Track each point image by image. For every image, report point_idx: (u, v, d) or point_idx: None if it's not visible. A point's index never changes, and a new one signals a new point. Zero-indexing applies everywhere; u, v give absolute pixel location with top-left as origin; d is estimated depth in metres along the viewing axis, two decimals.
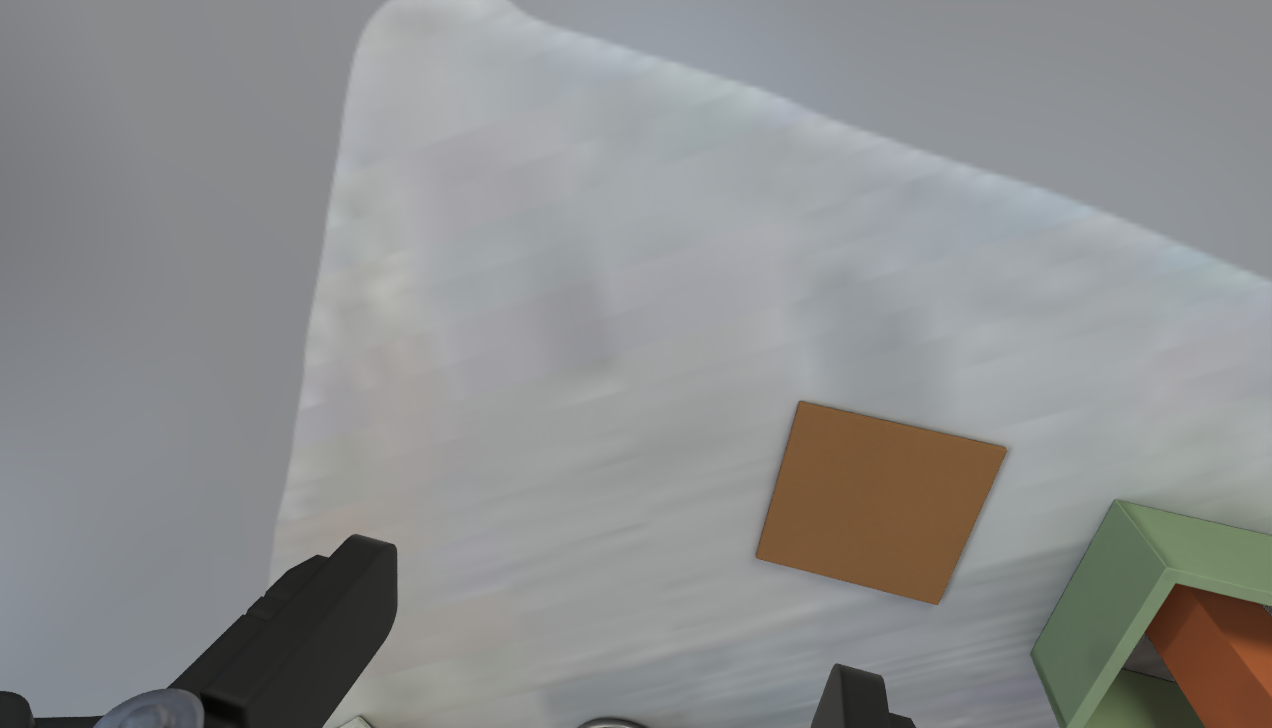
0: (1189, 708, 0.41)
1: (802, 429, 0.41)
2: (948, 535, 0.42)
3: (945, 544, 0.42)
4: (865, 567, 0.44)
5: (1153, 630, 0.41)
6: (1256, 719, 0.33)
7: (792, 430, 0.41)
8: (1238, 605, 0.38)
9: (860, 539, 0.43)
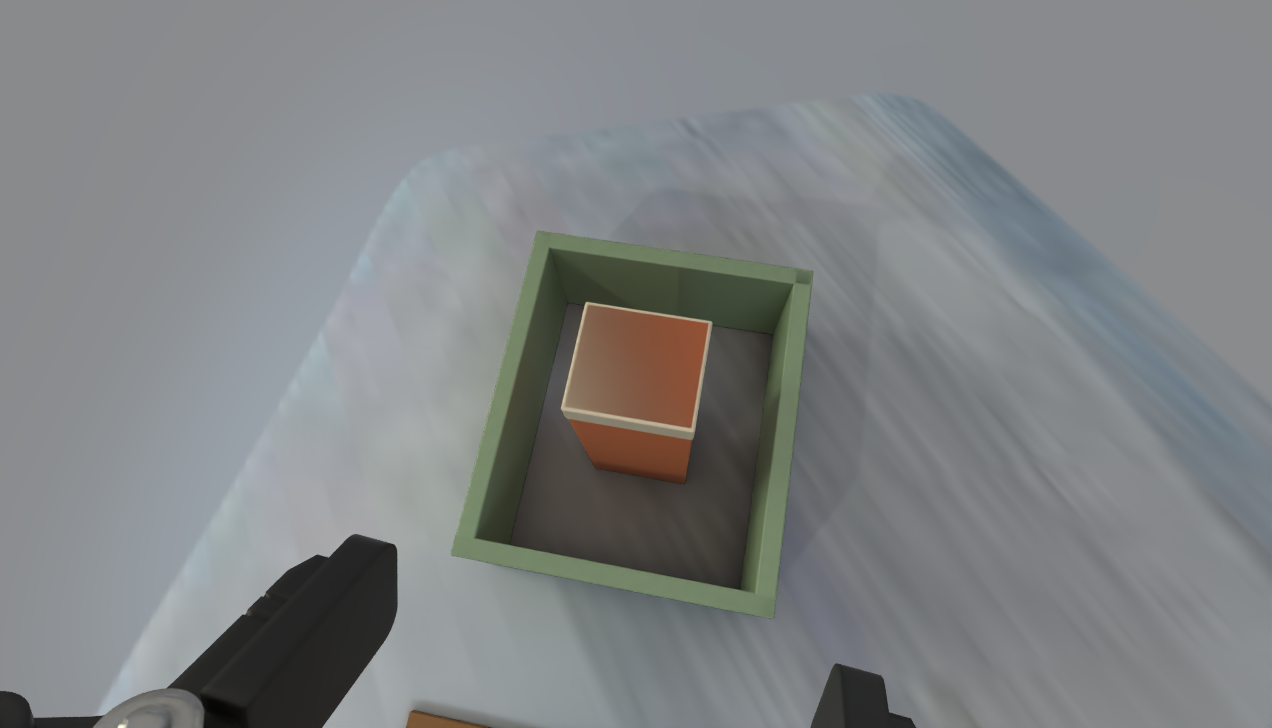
0: (765, 424, 0.31)
1: None
2: None
3: None
4: None
5: (671, 480, 0.32)
6: (610, 431, 0.25)
7: None
8: None
9: None
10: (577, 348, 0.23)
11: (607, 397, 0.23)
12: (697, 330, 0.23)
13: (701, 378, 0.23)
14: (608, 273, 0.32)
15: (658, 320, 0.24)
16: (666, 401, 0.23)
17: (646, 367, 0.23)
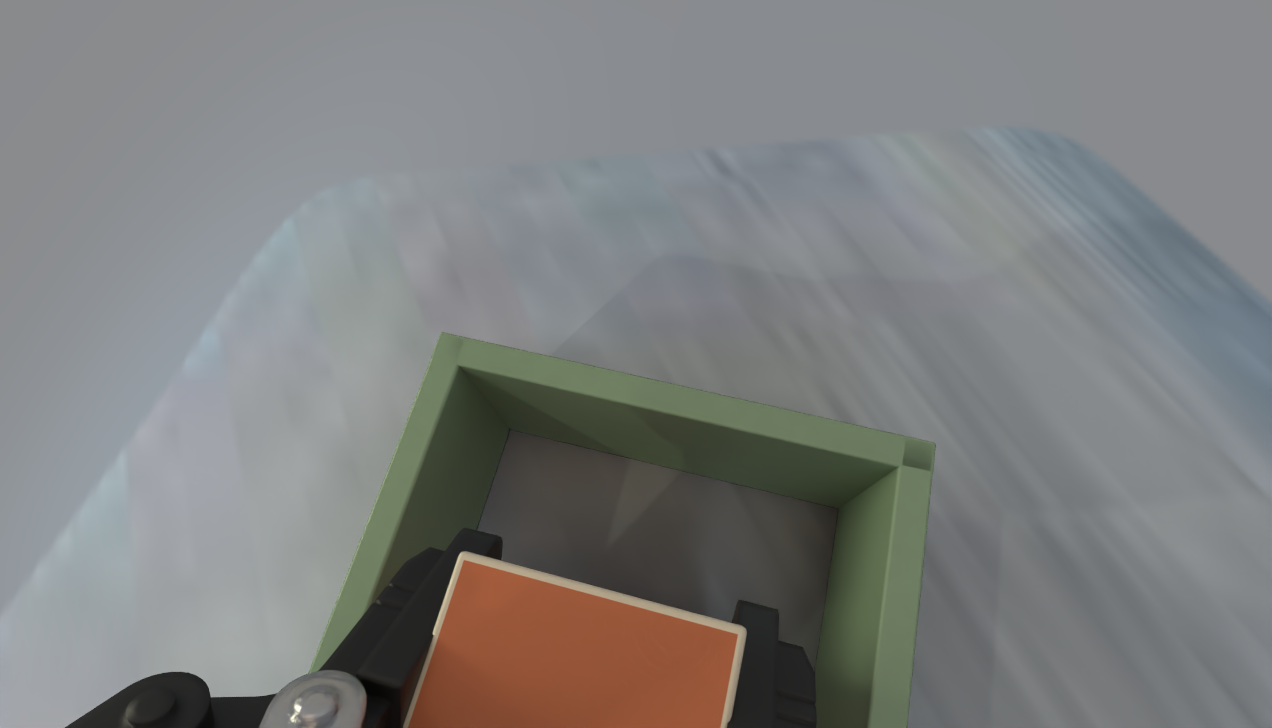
0: (826, 697, 0.18)
1: None
2: None
3: None
4: None
5: None
6: None
7: None
8: None
9: None
10: (423, 675, 0.10)
11: None
12: (710, 651, 0.10)
13: None
14: (565, 408, 0.18)
15: (620, 615, 0.10)
16: None
17: None
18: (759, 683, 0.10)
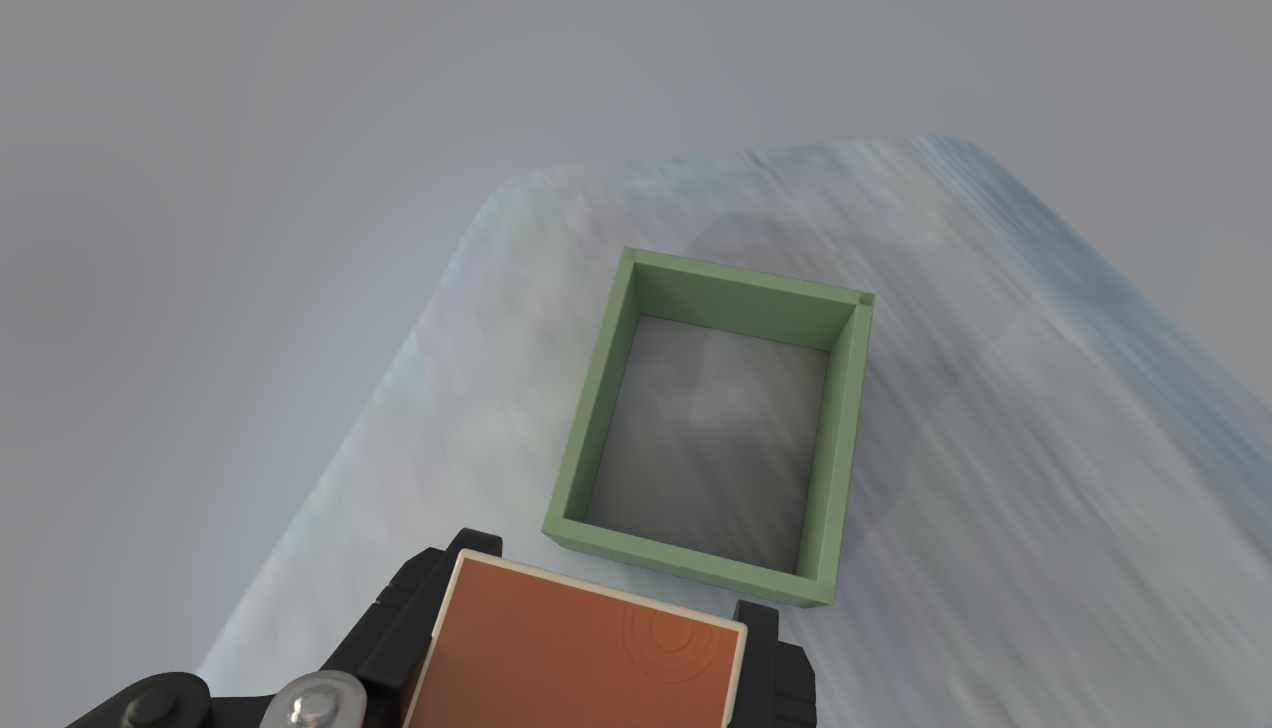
0: (823, 432, 0.34)
1: None
2: None
3: None
4: None
5: None
6: None
7: None
8: None
9: None
10: (424, 673, 0.10)
11: None
12: (711, 648, 0.10)
13: None
14: (684, 287, 0.35)
15: (620, 613, 0.10)
16: None
17: None
18: (759, 683, 0.10)
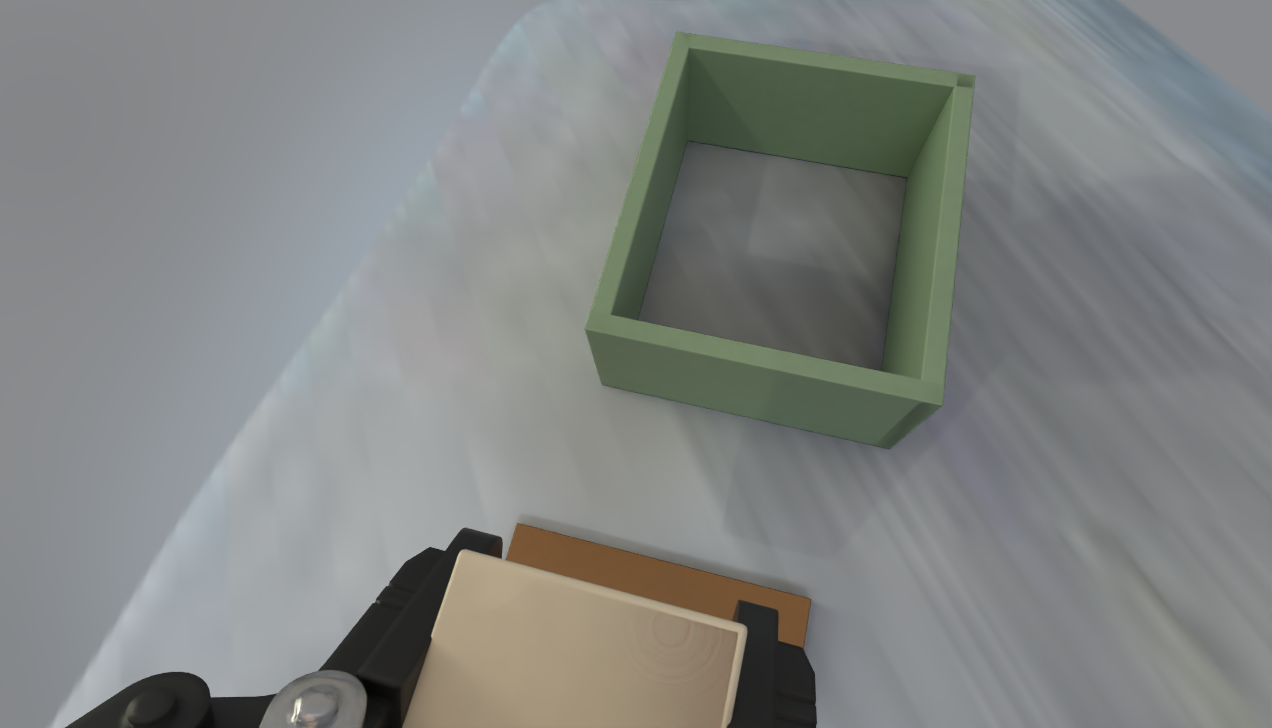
0: (908, 249, 0.29)
1: None
2: (666, 592, 0.26)
3: (684, 595, 0.26)
4: None
5: None
6: None
7: None
8: None
9: None
10: (423, 674, 0.10)
11: None
12: (711, 649, 0.10)
13: None
14: (745, 86, 0.30)
15: (620, 614, 0.10)
16: None
17: None
18: (759, 683, 0.10)
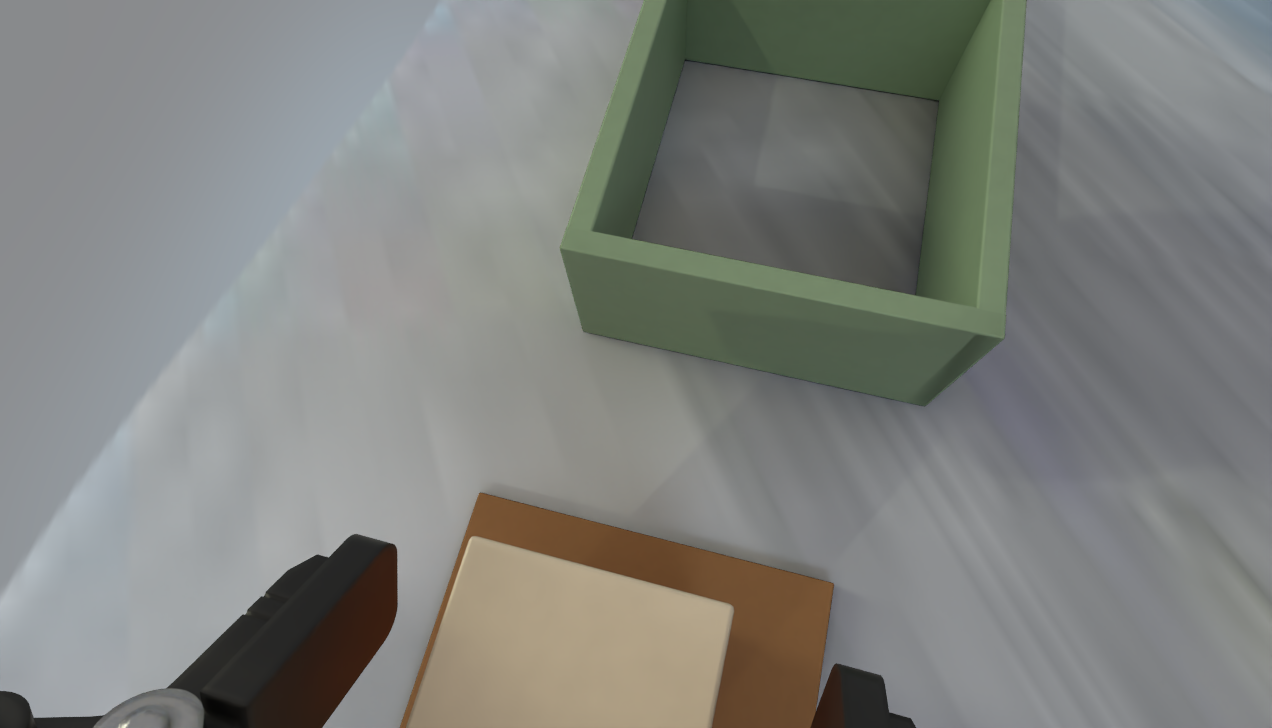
0: (945, 173, 0.25)
1: None
2: (659, 575, 0.22)
3: (680, 579, 0.22)
4: None
5: None
6: None
7: None
8: None
9: None
10: (437, 649, 0.11)
11: None
12: (700, 627, 0.11)
13: None
14: None
15: (618, 594, 0.11)
16: None
17: (581, 711, 0.10)
18: None
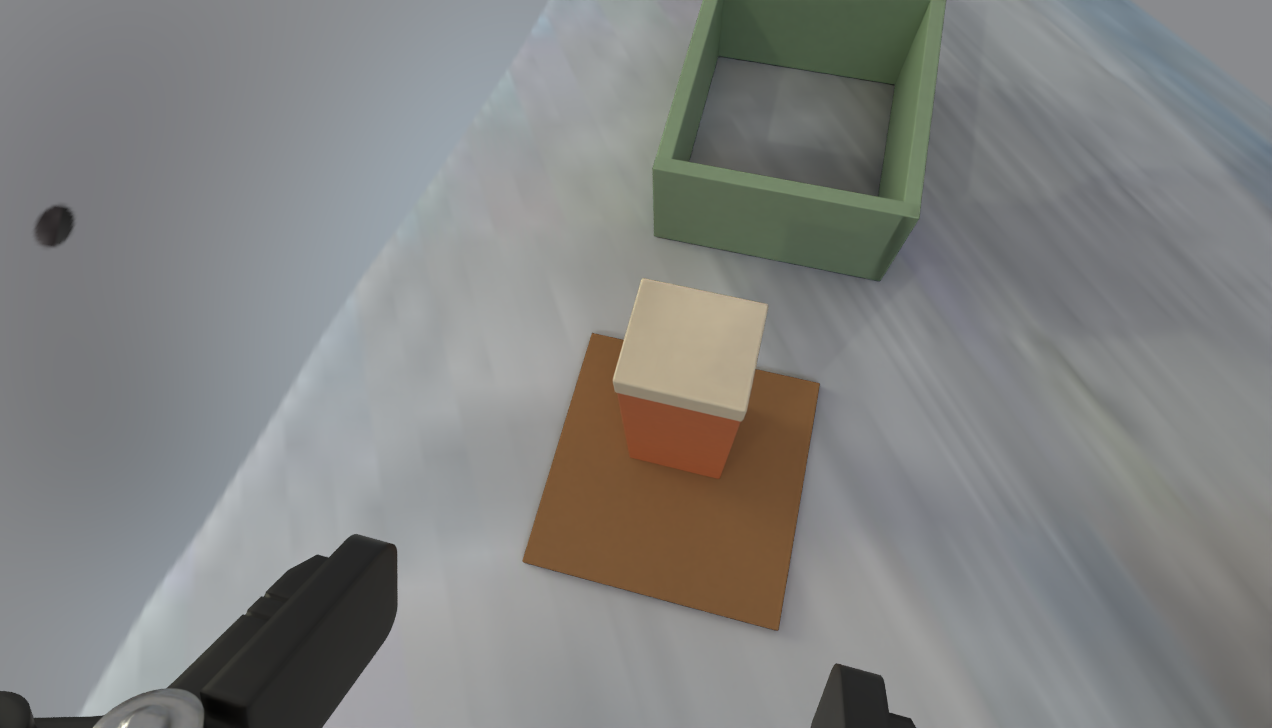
0: (895, 131, 0.37)
1: (559, 557, 0.31)
2: None
3: None
4: (772, 472, 0.32)
5: (707, 473, 0.32)
6: (657, 410, 0.25)
7: (561, 571, 0.31)
8: None
9: (726, 480, 0.32)
10: (631, 322, 0.23)
11: (659, 372, 0.23)
12: (753, 312, 0.23)
13: (755, 359, 0.23)
14: (768, 3, 0.38)
15: (714, 300, 0.24)
16: (719, 379, 0.23)
17: (700, 345, 0.23)
18: None
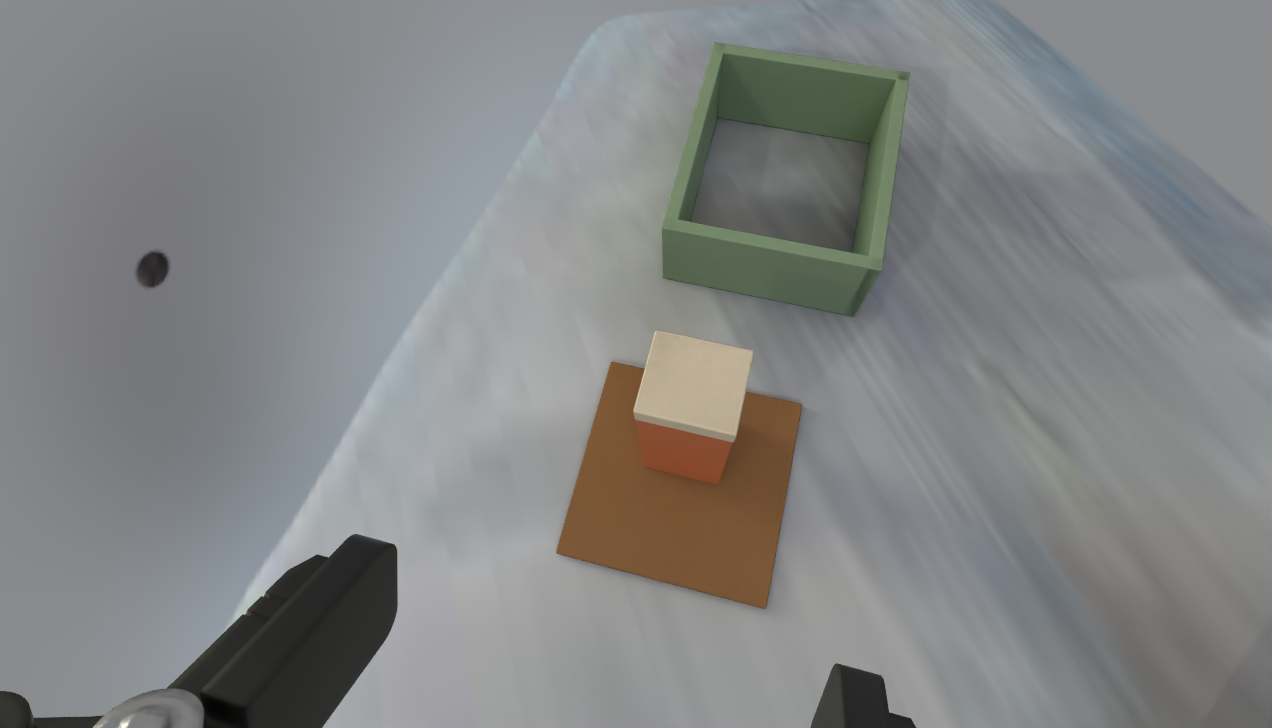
0: (867, 188, 0.44)
1: (586, 549, 0.38)
2: None
3: None
4: (761, 479, 0.39)
5: (708, 480, 0.39)
6: (667, 432, 0.31)
7: (588, 560, 0.38)
8: None
9: (724, 485, 0.39)
10: (647, 365, 0.30)
11: (669, 404, 0.29)
12: (742, 357, 0.30)
13: (743, 394, 0.30)
14: (759, 79, 0.45)
15: (711, 347, 0.30)
16: (715, 410, 0.29)
17: (701, 383, 0.30)
18: None
